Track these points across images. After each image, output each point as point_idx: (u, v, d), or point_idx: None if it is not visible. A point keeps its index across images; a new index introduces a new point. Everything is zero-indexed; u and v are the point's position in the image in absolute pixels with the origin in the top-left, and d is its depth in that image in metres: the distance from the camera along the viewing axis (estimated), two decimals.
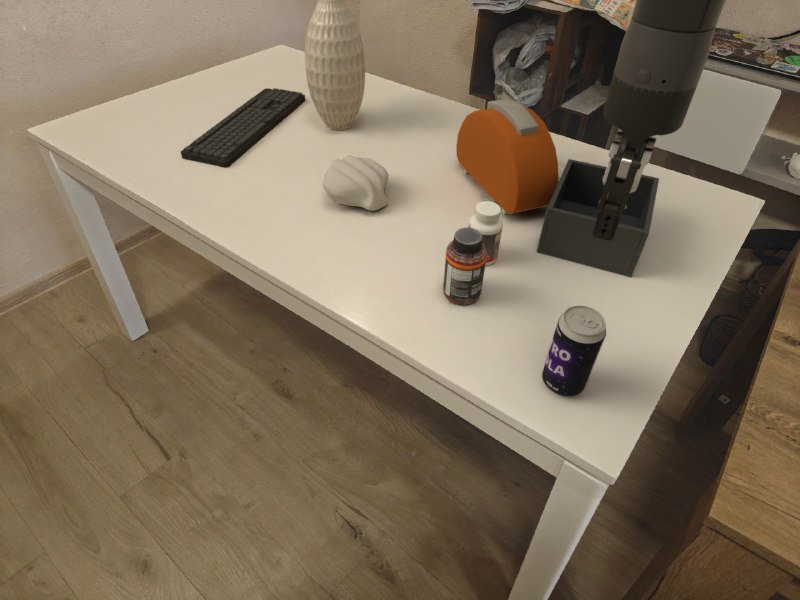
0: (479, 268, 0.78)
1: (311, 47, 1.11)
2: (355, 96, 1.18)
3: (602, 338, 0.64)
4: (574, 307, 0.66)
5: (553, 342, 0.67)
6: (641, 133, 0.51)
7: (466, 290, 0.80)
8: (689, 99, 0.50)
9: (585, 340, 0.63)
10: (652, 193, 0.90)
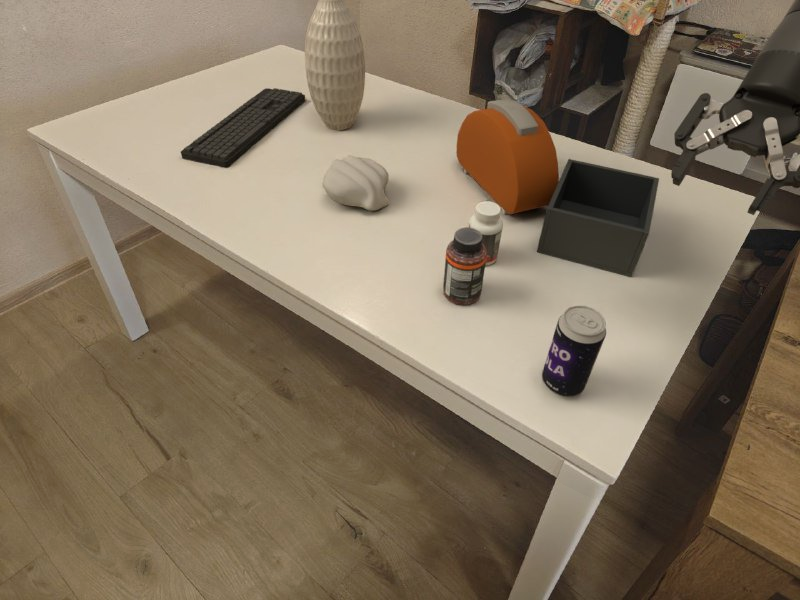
0: (479, 268, 0.78)
1: (311, 47, 1.11)
2: (355, 96, 1.18)
3: (602, 338, 0.64)
4: (574, 307, 0.66)
5: (553, 342, 0.67)
6: (736, 91, 0.62)
7: (466, 290, 0.80)
8: (776, 58, 0.58)
9: (585, 340, 0.63)
10: (652, 193, 0.90)
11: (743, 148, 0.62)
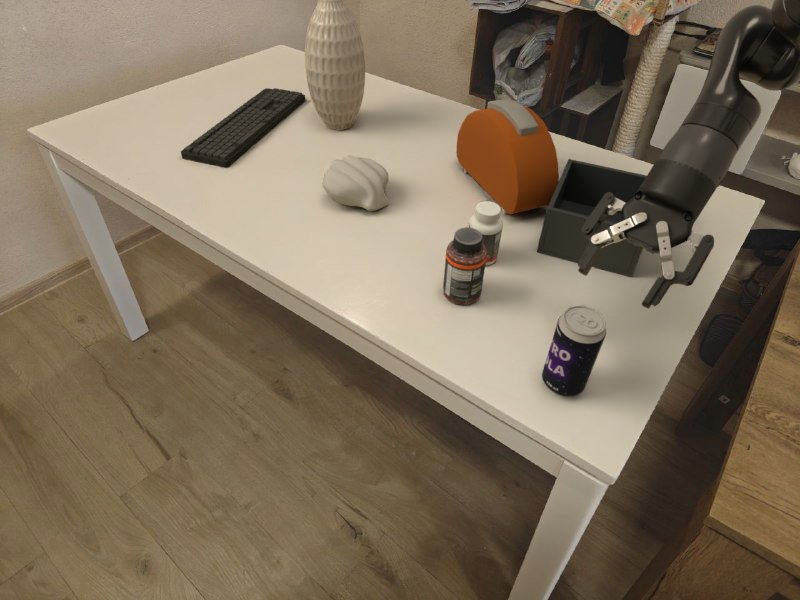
0: (479, 268, 0.78)
1: (311, 47, 1.11)
2: (355, 96, 1.18)
3: (602, 338, 0.64)
4: (574, 307, 0.66)
5: (553, 342, 0.67)
6: (637, 192, 0.67)
7: (466, 290, 0.80)
8: (666, 168, 0.63)
9: (585, 340, 0.63)
10: None
11: (641, 245, 0.67)
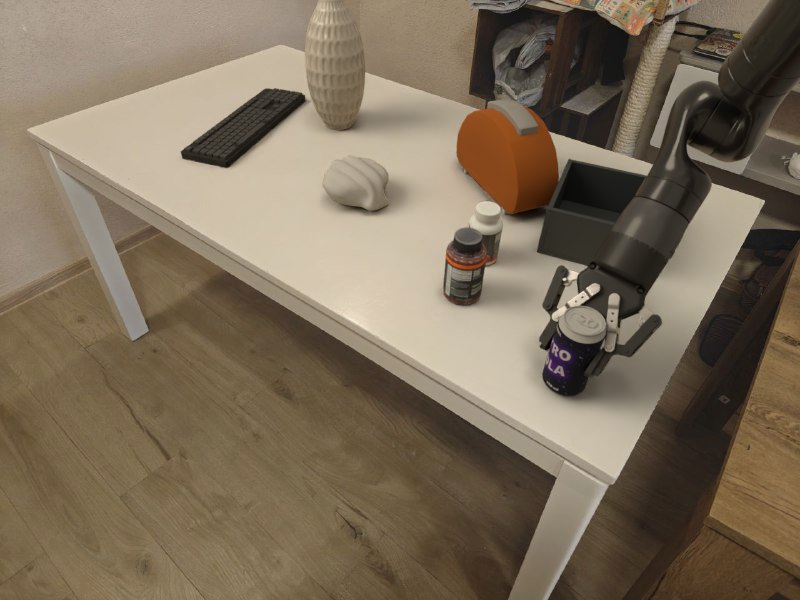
0: (479, 268, 0.78)
1: (311, 47, 1.11)
2: (355, 96, 1.18)
3: (602, 338, 0.64)
4: (574, 307, 0.66)
5: (553, 342, 0.67)
6: None
7: (466, 290, 0.80)
8: (618, 241, 0.64)
9: (585, 340, 0.63)
10: None
11: None
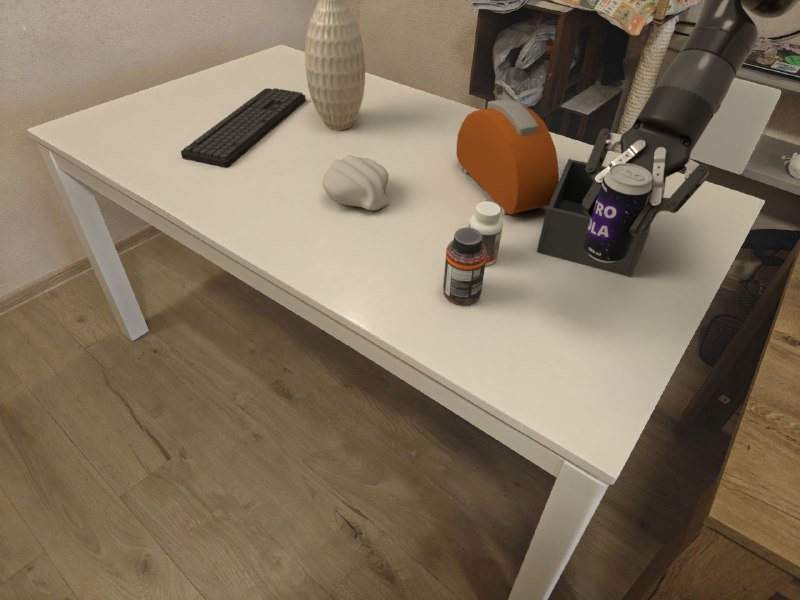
0: (479, 268, 0.78)
1: (311, 47, 1.11)
2: (355, 96, 1.18)
3: (649, 190, 0.64)
4: (619, 165, 0.66)
5: (597, 202, 0.67)
6: (635, 121, 0.68)
7: (466, 290, 0.80)
8: (665, 93, 0.64)
9: (632, 191, 0.63)
10: None
11: None
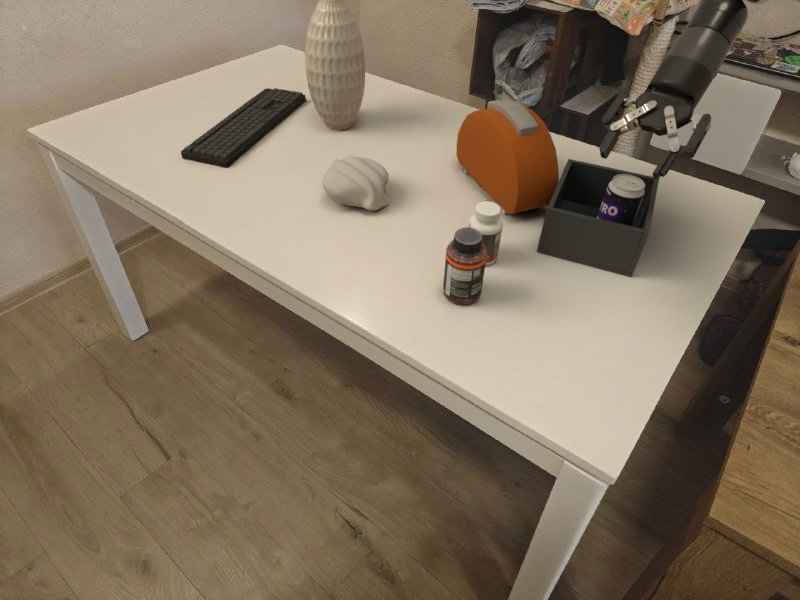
0: (479, 268, 0.78)
1: (311, 47, 1.11)
2: (355, 96, 1.18)
3: (642, 195, 0.85)
4: (620, 175, 0.87)
5: (603, 203, 0.88)
6: (648, 86, 0.82)
7: (466, 290, 0.80)
8: (672, 61, 0.78)
9: (629, 195, 0.84)
10: (652, 193, 0.90)
11: (651, 129, 0.82)
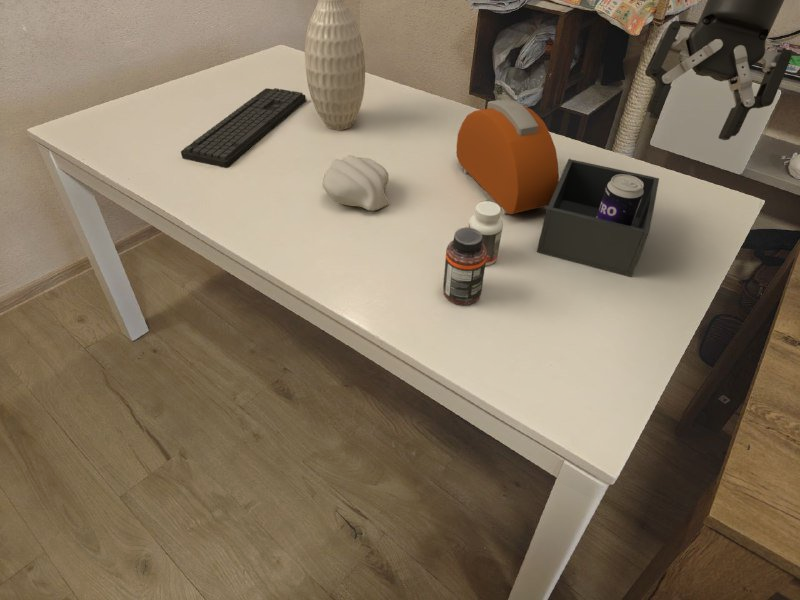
0: (479, 268, 0.78)
1: (311, 47, 1.11)
2: (355, 96, 1.18)
3: (641, 195, 0.85)
4: (619, 175, 0.87)
5: (602, 203, 0.88)
6: (702, 15, 0.63)
7: (466, 290, 0.80)
8: None
9: (628, 195, 0.84)
10: (652, 193, 0.90)
11: (712, 75, 0.64)
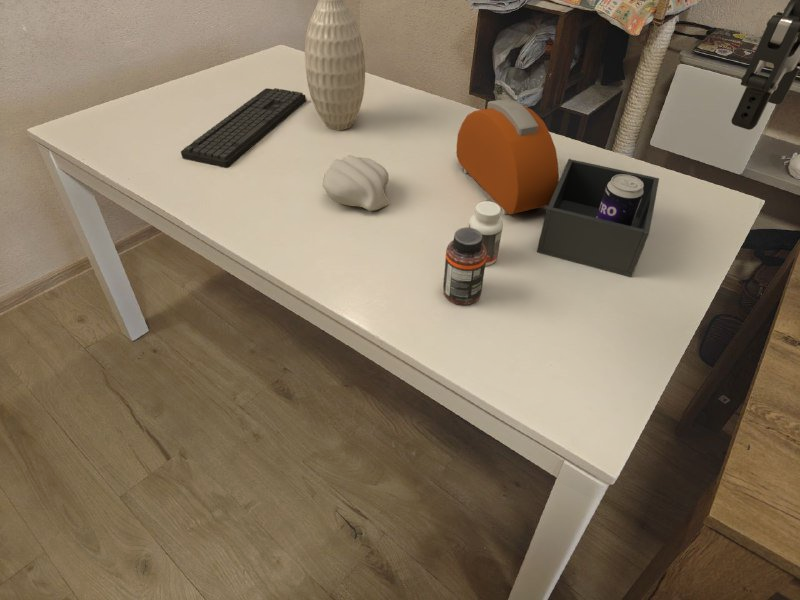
0: (479, 268, 0.78)
1: (311, 47, 1.11)
2: (355, 96, 1.18)
3: (641, 195, 0.85)
4: (619, 175, 0.87)
5: (602, 203, 0.88)
6: None
7: (466, 290, 0.80)
8: None
9: (628, 195, 0.84)
10: (652, 193, 0.90)
11: None
